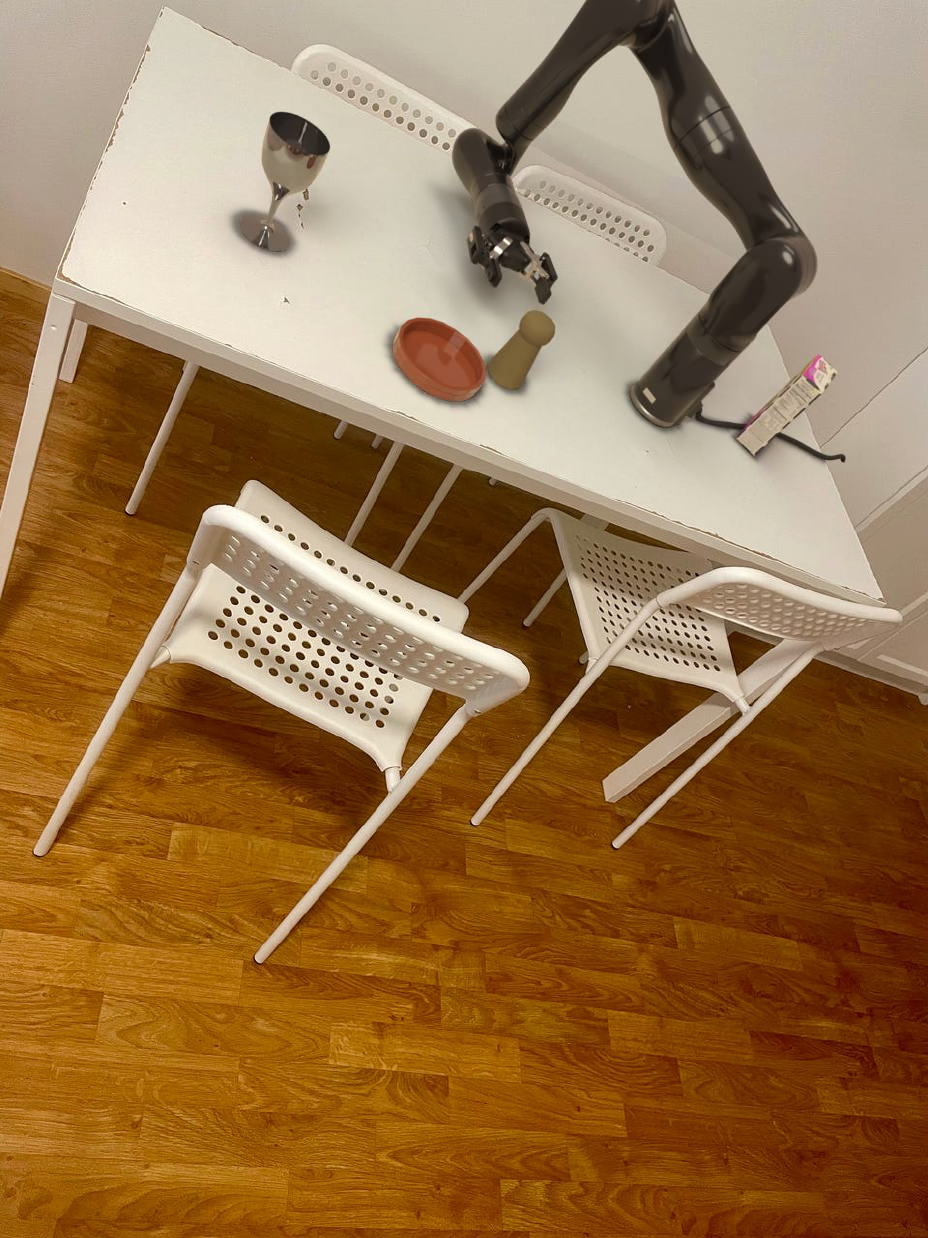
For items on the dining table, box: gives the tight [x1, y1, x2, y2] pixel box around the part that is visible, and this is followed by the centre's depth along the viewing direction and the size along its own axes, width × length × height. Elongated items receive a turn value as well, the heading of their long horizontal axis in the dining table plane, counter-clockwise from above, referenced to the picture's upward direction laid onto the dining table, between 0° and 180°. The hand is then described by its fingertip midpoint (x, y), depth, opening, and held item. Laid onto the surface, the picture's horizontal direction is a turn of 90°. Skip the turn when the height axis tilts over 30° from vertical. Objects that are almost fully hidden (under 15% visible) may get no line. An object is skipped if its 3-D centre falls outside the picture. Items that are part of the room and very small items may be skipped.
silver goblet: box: [238, 111, 331, 253], centre depth 112 cm, size 8×8×15 cm
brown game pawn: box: [486, 309, 556, 391], centre depth 124 cm, size 6×6×11 cm
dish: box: [392, 316, 487, 402], centre depth 120 cm, size 14×14×2 cm
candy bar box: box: [735, 353, 839, 457], centre depth 149 cm, size 11×5×16 cm, turn 144°
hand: (521, 291), depth 126 cm, fingers open, 8 cm apart
